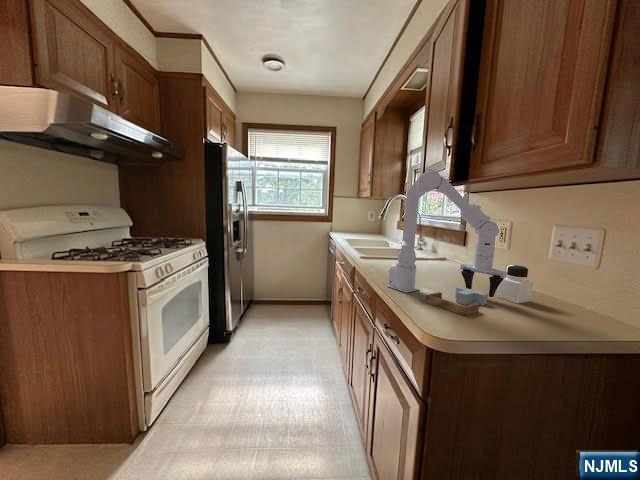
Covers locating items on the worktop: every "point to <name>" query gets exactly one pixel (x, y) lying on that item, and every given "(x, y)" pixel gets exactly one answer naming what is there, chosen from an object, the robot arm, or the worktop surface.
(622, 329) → the worktop surface
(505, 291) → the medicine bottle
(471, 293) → the t block
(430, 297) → the walnut cradle
